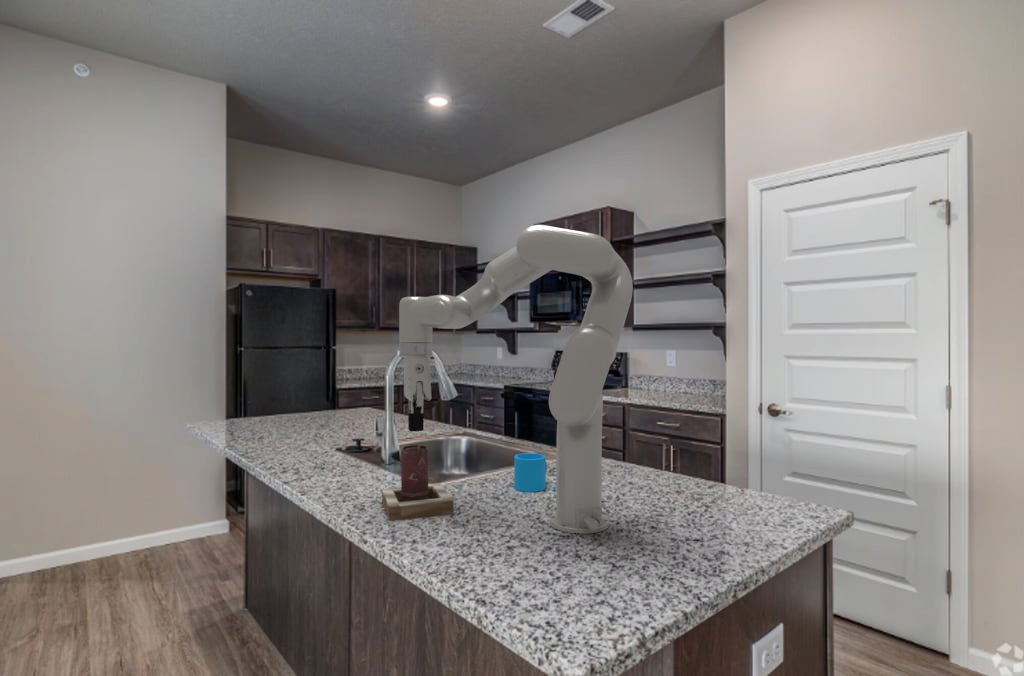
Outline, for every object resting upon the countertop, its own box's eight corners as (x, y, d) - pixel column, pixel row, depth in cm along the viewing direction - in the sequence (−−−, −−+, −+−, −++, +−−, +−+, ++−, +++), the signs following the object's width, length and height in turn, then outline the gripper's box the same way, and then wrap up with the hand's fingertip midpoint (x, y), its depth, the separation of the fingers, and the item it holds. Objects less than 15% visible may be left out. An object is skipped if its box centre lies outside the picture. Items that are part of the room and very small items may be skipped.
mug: (534, 493, 138) (534, 461, 138) (508, 488, 143) (508, 457, 143) (558, 483, 148) (558, 452, 148) (533, 478, 152) (533, 449, 152)
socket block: (453, 514, 122) (453, 499, 122) (389, 521, 117) (388, 506, 117) (440, 497, 135) (440, 483, 135) (382, 503, 130) (382, 489, 130)
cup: (431, 503, 129) (431, 444, 129) (424, 512, 123) (424, 450, 123) (406, 503, 130) (406, 444, 130) (397, 511, 124) (397, 449, 124)
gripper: (438, 351, 120) (438, 435, 120) (426, 349, 134) (426, 424, 134) (404, 351, 118) (404, 437, 118) (395, 350, 132) (395, 426, 132)
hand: (415, 430), depth 126 cm, fingers closed
